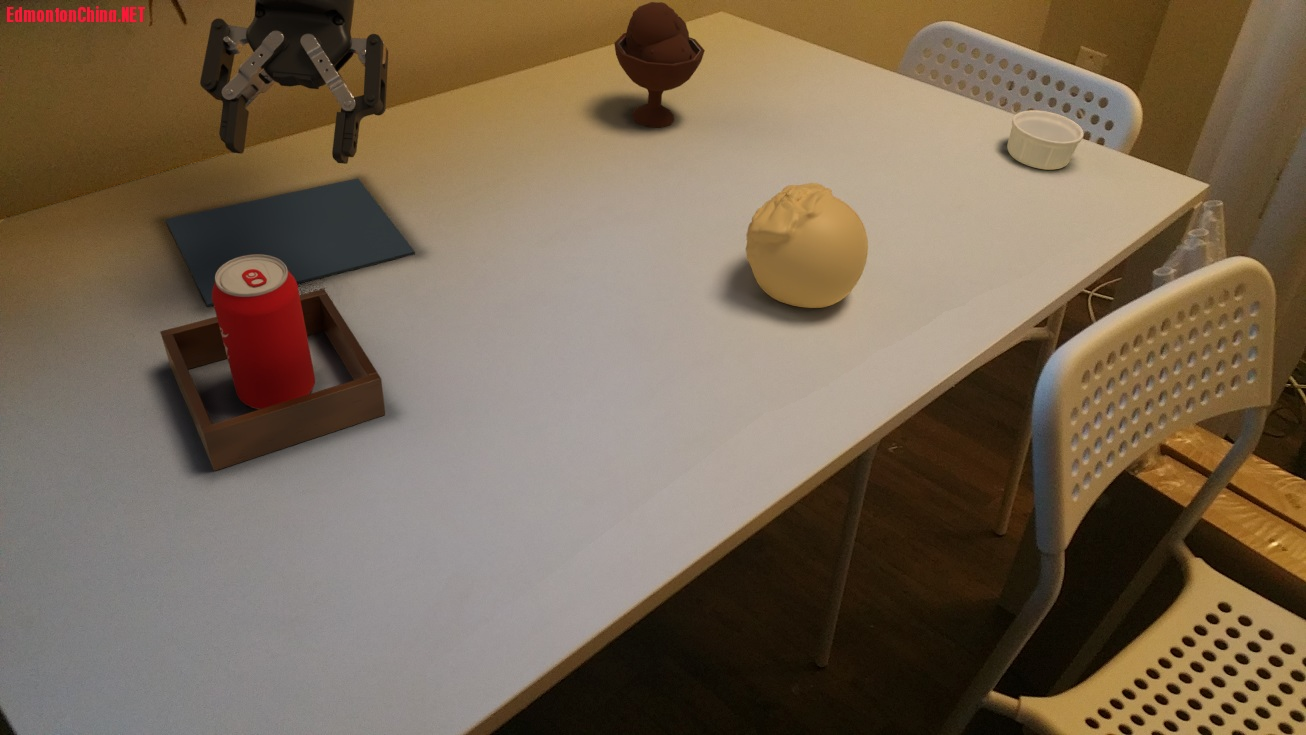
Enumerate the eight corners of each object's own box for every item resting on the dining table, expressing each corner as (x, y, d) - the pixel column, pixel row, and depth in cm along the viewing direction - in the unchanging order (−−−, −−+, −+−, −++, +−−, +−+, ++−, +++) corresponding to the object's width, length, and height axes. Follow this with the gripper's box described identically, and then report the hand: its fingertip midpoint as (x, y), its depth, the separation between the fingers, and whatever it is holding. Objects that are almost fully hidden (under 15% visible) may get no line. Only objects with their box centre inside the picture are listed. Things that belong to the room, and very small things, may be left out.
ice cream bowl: (697, 140, 123) (712, 22, 114) (608, 133, 123) (616, 13, 113) (694, 102, 131) (708, -11, 122) (611, 96, 131) (618, -19, 121)
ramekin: (1062, 180, 124) (1075, 149, 121) (994, 157, 127) (1004, 126, 124) (1078, 154, 130) (1091, 124, 127) (1013, 133, 133) (1023, 103, 130)
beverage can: (296, 357, 86) (274, 241, 78) (329, 397, 82) (309, 280, 74) (225, 384, 82) (194, 265, 75) (255, 427, 79) (226, 307, 71)
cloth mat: (207, 306, 90) (207, 304, 90) (165, 221, 100) (165, 218, 99) (415, 254, 99) (415, 251, 99) (358, 180, 109) (358, 178, 109)
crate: (214, 471, 75) (203, 433, 72) (170, 368, 83) (159, 331, 81) (385, 414, 81) (381, 378, 79) (329, 323, 90) (324, 288, 87)
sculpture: (765, 243, 106) (782, 153, 99) (870, 280, 103) (896, 190, 96) (720, 294, 98) (735, 200, 91) (832, 337, 95) (857, 243, 88)
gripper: (203, -68, 77) (178, 133, 76) (386, -50, 78) (363, 150, 76) (240, -23, 85) (217, 161, 83) (406, -7, 85) (386, 177, 84)
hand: (287, 155), depth 80 cm, fingers open, 8 cm apart
